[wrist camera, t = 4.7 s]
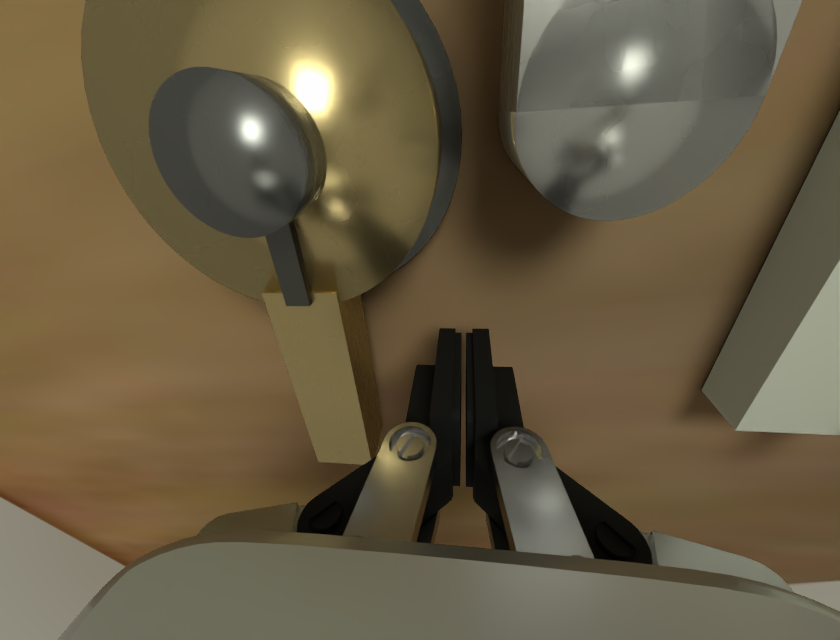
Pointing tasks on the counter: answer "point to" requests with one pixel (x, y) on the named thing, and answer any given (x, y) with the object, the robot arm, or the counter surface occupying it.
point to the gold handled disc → (277, 167)
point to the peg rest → (790, 320)
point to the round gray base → (449, 110)
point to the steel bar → (632, 94)
